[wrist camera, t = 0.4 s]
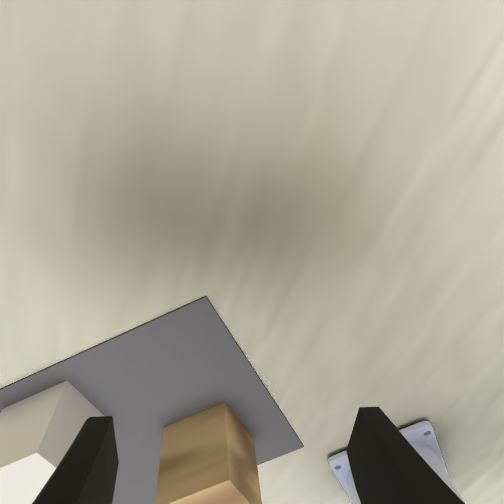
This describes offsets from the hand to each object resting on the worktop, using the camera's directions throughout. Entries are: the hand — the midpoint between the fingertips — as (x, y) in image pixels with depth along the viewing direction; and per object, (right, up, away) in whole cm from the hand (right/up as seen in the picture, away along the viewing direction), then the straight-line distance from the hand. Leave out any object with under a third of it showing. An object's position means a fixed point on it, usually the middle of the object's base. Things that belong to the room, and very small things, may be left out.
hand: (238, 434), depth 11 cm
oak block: (-2, -7, +14) cm, 16 cm away
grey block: (-11, -5, +12) cm, 17 cm away
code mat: (-6, -6, +13) cm, 16 cm away
